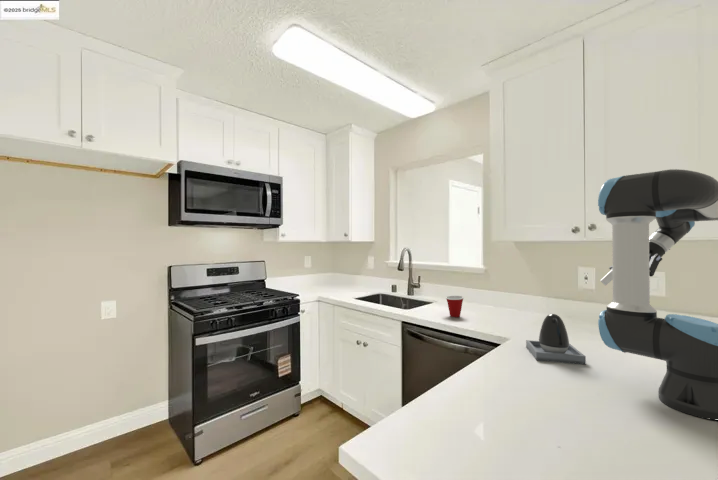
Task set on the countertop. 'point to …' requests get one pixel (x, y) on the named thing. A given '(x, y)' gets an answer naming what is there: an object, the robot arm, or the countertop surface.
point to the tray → (555, 354)
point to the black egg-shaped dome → (553, 335)
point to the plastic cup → (454, 305)
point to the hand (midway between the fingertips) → (614, 285)
